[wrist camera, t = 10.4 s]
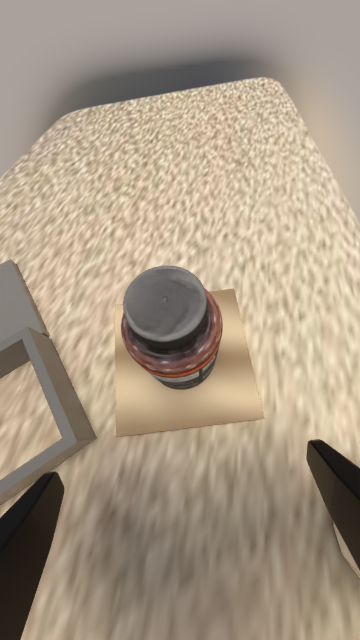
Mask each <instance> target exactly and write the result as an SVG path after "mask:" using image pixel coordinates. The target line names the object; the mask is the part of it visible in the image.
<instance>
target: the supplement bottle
mask: <svg viewBox="0 0 360 640" xmlns="http://www.w3.org/2000/svg"><path fill="white" fill-rule="evenodd" d="M123 311H124V313H123V316H122V320H121V334H122V339H123V342H124V345H125V347H126V349H127V351H128V353H129V354H130V355H131V357H132V358H133V359H134V360H135V361H136V362H137V363H138V364H139V365H140V366H141V367H142V368H144V369H145V370H146V371H147V372H148V373H149V374H151V375H152V376H153V377H154V378H155V379H156V380H158V381H159V382H160V383H162V384H163V385H165V386H167V387H169V388H172V389H178V390H184V389H190V388H193V387H195V386H198V385H199V384H201V383H202V382H203V381H204V380H205V379H206V378H207V377H208V376H209V374H210V373H211V371H212V369H213V367H214V364H215V361H216V357H217V353H218V350H219V346H220V342H221V337H222V332H223V322H222V315H221V311H220V308H219V306H218V304H217V302H216V300H215V299H214V297H213V296H212V295H211V294H210V293H209V292H208V291H207V290H206V289H205V288H204V287H203V285H202V283H201V282H200V280H199V279H198V278H197V277H196V276H195V275H194V274H192V273H191V272H189V271H188V270H185V269H183V268H180V267H175V266H159V267H154V268H152V269H148V270H146V271H145V272H143V273H142V274H140V275H139V276H137V277H136V278H135V279H134V280H133V282H132V283H131V284H130V285H129V287H128V289H127V291H126V293H125V297H124V301H123Z"/></svg>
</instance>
